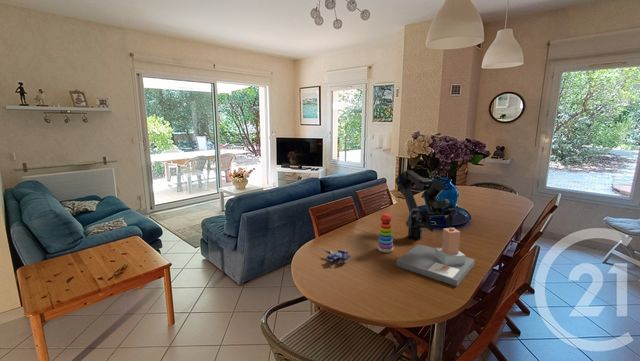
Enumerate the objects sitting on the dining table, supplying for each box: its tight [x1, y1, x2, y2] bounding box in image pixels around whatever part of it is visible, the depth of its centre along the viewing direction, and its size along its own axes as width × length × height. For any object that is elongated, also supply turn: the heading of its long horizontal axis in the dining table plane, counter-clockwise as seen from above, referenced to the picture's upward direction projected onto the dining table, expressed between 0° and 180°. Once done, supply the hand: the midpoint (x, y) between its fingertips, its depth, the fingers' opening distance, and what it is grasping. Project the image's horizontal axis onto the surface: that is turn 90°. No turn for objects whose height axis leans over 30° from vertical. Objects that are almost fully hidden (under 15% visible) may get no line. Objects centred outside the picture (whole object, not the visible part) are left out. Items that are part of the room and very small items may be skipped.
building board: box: [395, 243, 476, 287], centre depth 134 cm, size 26×24×3 cm
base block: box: [434, 247, 466, 265], centre depth 134 cm, size 9×9×4 cm
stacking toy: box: [376, 213, 395, 254], centre depth 149 cm, size 8×8×19 cm
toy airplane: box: [322, 249, 351, 265], centre depth 140 cm, size 13×14×4 cm
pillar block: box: [441, 227, 461, 254], centre depth 132 cm, size 5×5×11 cm
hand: (441, 230), depth 139 cm, fingers open, 9 cm apart
